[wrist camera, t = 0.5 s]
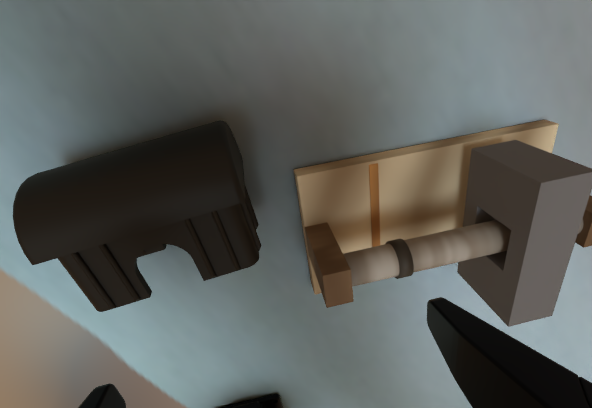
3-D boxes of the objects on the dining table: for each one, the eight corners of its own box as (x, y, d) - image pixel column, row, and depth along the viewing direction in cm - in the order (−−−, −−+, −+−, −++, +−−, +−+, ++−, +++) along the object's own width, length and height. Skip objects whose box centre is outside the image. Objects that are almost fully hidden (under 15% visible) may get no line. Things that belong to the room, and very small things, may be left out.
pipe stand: (544, 119, 24) (641, 147, 18) (519, 236, 28) (590, 287, 23) (293, 169, 22) (314, 216, 16) (311, 284, 27) (332, 351, 21)
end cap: (225, 105, 20) (222, 138, 14) (260, 207, 23) (269, 268, 17) (58, 154, 19) (-19, 208, 13) (118, 249, 23) (78, 327, 17)
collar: (515, 139, 21) (597, 170, 16) (493, 263, 26) (552, 315, 21) (471, 148, 21) (541, 182, 16) (457, 272, 26) (508, 326, 21)
